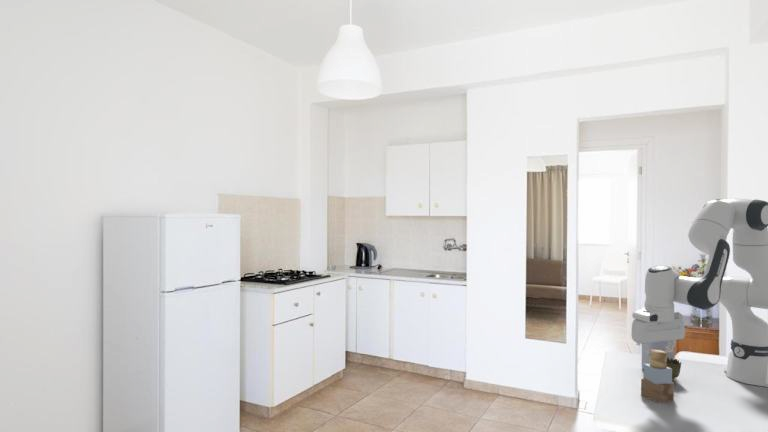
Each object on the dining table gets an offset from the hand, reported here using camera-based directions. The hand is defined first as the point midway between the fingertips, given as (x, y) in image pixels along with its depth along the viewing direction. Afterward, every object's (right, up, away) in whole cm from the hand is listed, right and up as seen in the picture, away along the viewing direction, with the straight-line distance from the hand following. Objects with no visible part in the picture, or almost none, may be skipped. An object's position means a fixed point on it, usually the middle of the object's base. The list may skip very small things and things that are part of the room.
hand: (658, 353), depth 160 cm
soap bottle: (+15, -15, +26) cm, 33 cm away
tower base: (0, -15, 0) cm, 15 cm away
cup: (+14, -15, +16) cm, 26 cm away
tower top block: (0, -9, 0) cm, 9 cm away
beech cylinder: (0, -4, 0) cm, 4 cm away
